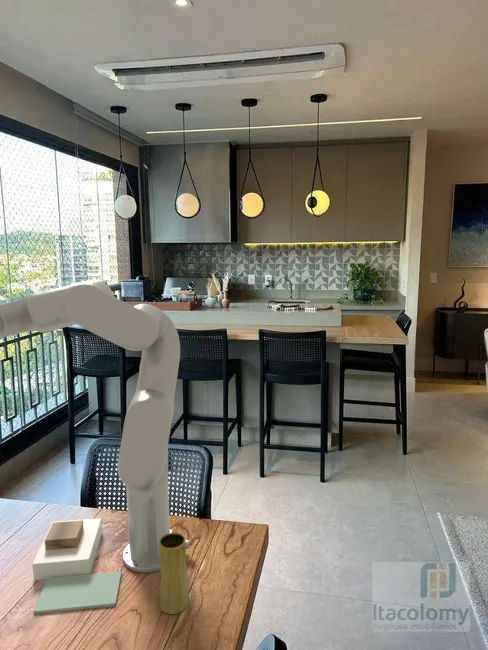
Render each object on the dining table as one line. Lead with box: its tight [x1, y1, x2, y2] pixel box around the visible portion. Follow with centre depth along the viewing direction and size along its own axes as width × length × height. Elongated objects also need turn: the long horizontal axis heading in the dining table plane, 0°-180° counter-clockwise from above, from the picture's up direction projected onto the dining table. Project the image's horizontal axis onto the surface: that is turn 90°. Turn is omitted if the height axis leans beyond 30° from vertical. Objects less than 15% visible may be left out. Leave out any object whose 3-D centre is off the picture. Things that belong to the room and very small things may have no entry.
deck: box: [31, 517, 103, 581], centre depth 110 cm, size 12×16×4 cm
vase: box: [158, 532, 190, 615], centre depth 94 cm, size 6×6×14 cm
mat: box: [32, 570, 122, 615], centre depth 98 cm, size 16×10×1 cm, turn 97°
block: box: [44, 519, 84, 550], centre depth 109 cm, size 7×7×2 cm
